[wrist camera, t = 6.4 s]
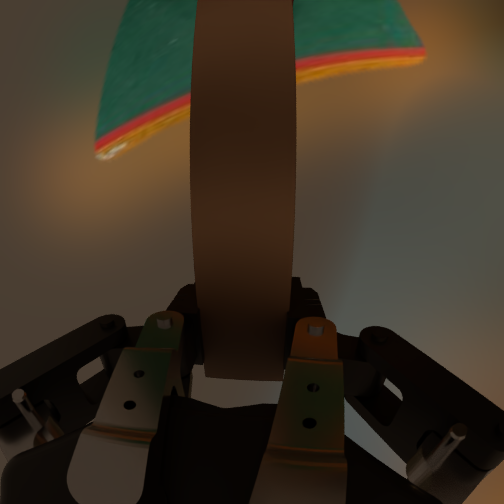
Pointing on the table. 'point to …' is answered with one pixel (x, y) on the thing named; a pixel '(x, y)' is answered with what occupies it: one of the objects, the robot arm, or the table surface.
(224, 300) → the walnut plank
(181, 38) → the table surface
